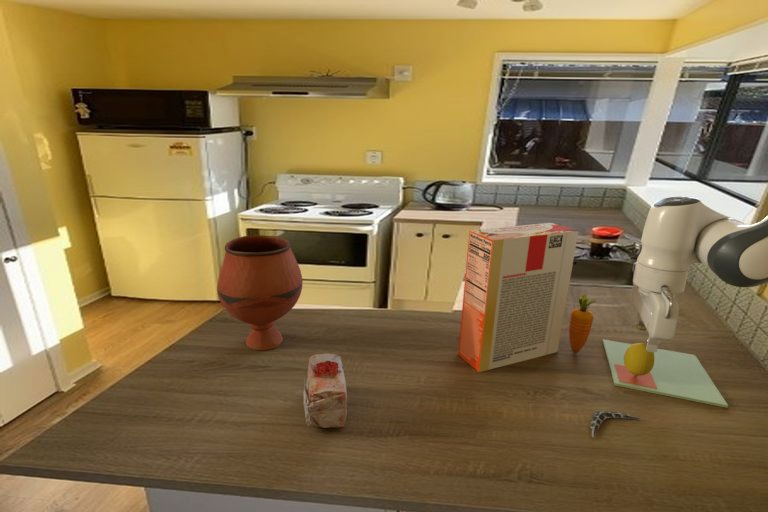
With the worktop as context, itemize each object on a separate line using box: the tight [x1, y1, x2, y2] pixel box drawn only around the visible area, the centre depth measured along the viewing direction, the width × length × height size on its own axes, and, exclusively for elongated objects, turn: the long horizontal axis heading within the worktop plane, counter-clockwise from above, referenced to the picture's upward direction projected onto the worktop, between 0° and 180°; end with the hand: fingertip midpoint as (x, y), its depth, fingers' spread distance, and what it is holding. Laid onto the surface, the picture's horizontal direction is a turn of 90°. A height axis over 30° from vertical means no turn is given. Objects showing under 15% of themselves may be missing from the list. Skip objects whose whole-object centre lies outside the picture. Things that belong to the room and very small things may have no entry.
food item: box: [302, 352, 348, 429], centre depth 78 cm, size 14×8×10 cm, turn 11°
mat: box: [601, 338, 729, 409], centre depth 95 cm, size 20×20×1 cm
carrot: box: [568, 293, 597, 354], centre depth 99 cm, size 5×5×15 cm
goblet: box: [216, 234, 304, 351], centre depth 99 cm, size 19×19×25 cm
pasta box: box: [457, 222, 579, 373], centre depth 96 cm, size 23×8×30 cm, turn 114°
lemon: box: [624, 342, 654, 376], centre depth 90 cm, size 6×6×8 cm
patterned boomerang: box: [589, 409, 644, 438], centre depth 78 cm, size 13×1×5 cm
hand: (645, 339), depth 89 cm, fingers open, 8 cm apart
